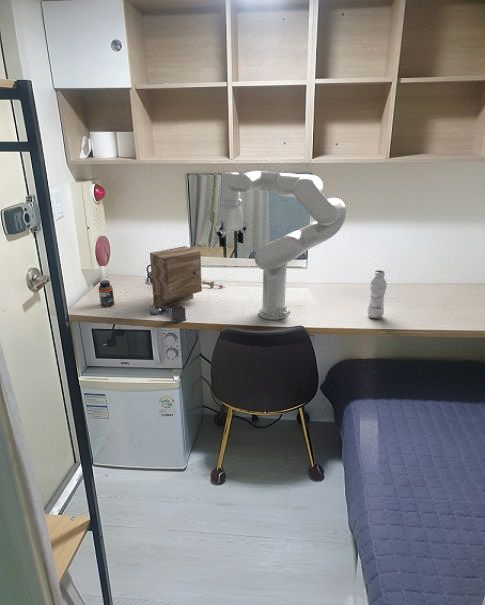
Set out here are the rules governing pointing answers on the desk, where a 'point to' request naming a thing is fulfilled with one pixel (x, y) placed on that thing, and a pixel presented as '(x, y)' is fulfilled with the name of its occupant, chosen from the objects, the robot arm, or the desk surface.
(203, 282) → the decorative key
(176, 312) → the grey hammer
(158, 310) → the token
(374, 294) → the plastic bottle
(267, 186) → the robot arm
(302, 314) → the desk surface
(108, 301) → the supplement bottle
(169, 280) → the cabinet
